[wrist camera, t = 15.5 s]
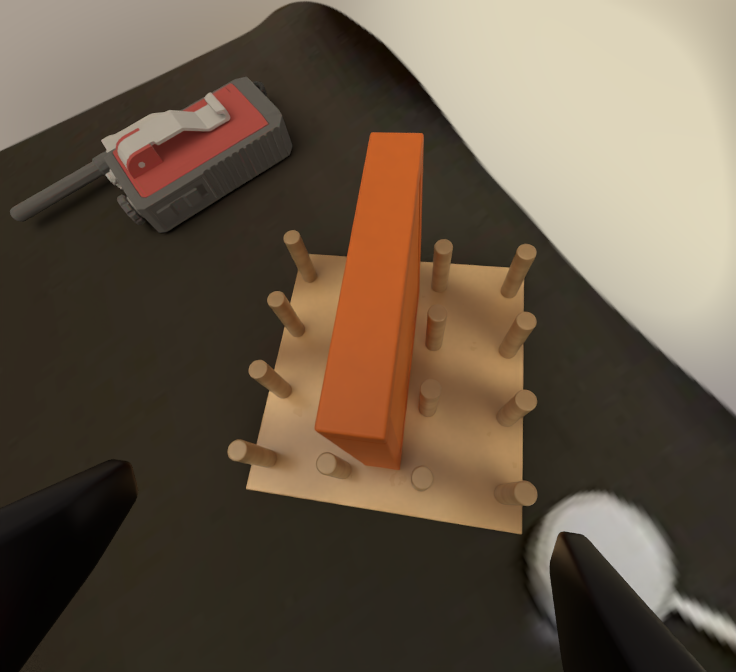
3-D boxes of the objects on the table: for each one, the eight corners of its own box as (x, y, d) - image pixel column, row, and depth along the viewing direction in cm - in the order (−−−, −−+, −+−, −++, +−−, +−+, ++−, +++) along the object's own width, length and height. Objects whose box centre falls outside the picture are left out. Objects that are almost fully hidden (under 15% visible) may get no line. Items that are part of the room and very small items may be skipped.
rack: (519, 533, 19) (549, 543, 15) (249, 489, 21) (207, 486, 17) (521, 273, 24) (545, 224, 20) (304, 258, 26) (282, 211, 22)
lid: (399, 470, 20) (385, 440, 10) (363, 465, 20) (312, 430, 10) (419, 291, 23) (423, 132, 13) (388, 288, 24) (370, 131, 14)
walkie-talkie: (254, 86, 33) (25, 220, 30) (231, 27, 28) (-37, 175, 26) (312, 146, 29) (63, 302, 26) (296, 90, 25) (0, 267, 22)
